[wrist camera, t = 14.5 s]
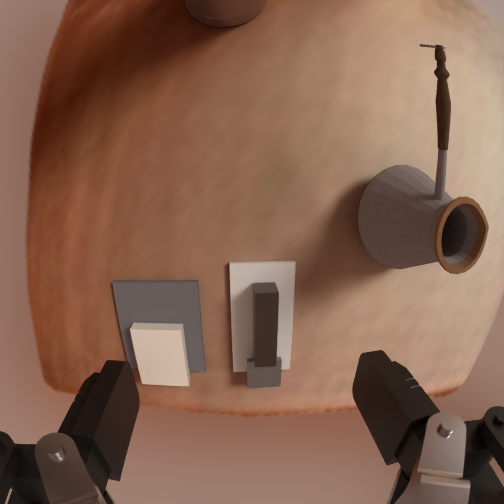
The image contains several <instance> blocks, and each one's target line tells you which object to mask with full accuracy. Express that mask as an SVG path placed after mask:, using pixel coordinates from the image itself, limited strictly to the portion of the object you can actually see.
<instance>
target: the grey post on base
mask: <svg viewBox="0 0 504 504" xmlns="http://www.w3.org/2000/svg"><path fill="white" fill-rule="evenodd" d="M278 312H279V291H278V288H277V286H276V283H275V282H265V283H253V358H247V388H260V387H277V386H280V383H281V367H282V359H281V357H277V338H278Z"/></svg>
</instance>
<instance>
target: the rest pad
mask: <svg viewBox="0 0 504 504" xmlns="http://www.w3.org/2000/svg"><path fill="white" fill-rule="evenodd" d="M295 263H296V262H295V261H258V262H230V295H231V324H232V349H233V372H247V358H253V283H265V282H275V283H276V286H277V288H278V291H279V312H278V338H277V357H281V359H282V367H281V370H284V369H290V356H291V342H292V326H293V308H294V288H295Z"/></svg>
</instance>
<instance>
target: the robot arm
mask: <svg viewBox="0 0 504 504" xmlns="http://www.w3.org/2000/svg"><path fill="white" fill-rule="evenodd" d="M265 2H266V0H185V4H186V8H187V10H188V12H189V14H190V15H191V16H192V17H193V18H195V19H196V20H198V21H199V22H201V23H204V24H206V25H211V26H215V27H230V26H236V25H240V24H243V23H246V22H248V21H250V20H252V19H253V18H255V17H256V16H257V15H258V14H259V13H260V12H261V11H262V10H263V8H264V6H265ZM352 392H353V398H354V401H355V403H356V405H357V407H358V409H359V411H360V413H361V414H362V417H363V418H364V421H365V423H366V425H367V426H368V429H369V431H370V433H371V435H372V437H373V438H374V441H375V443H376V445H377V447H378V449H379V451H380V453H381V455H382V457H383V459H384V461H385V463H386V465H390V464H393V463H396V462H399V464H400V466H401V467H400V469H399V471H398V473H397V476H396V479H395V482H394V485H393V488H392V491H391V494H390V496H389V499H388V501H387V504H504V487H503V485H502V484H501V482H500V480H499V479H498V477H497V475H496V474H495V472H494V470H493V469H492V467H491V466H490V464H489V462H490V461H491V460H492V459H493V457H494V458H495V460H496V461H497V463H498V465H499V466H500V467H501V469H502V471H503V472H504V407H500V406H495V407H491V408H490V409H488V410H487V412H486V413H485V415H484V417H483V418H482V419H480V420H473V421H463V420H462V419H461V418H460V417H459V416H458V415H456V414H453V413H450V412H440V411H439V409H438V408H437V407H436V405H435V404H434V403H433V402H432V400H431V399H430V398H429V396H428V395H427V394H426V392H425V391H424V390H423V389H422V387H421V386H419V383H418V382H417V381H416V380H415V379H413V376H412V375H411V373H410V372H409V371H408V370H407V368H405V367H404V366H402V365H401V364H399V363H398V362H396V361H393V362H392V361H391V360H390V359H389V357H388V356H387V355H386V353H385V352H384V351H382V350H378V351H372V352H366V353H362V354H361V355H360V358H359V362H358V366H357V370H356V374H355V378H354V382H353V388H352ZM139 404H140V401H139V393H138V390H137V386H136V383H135V379H134V376H133V372H132V368H131V365H130V363H129V362H128V361H116V360H107V361H106V362H105V364H104V366H103V368H102V370H101V372H100V373H95V372H94V373H93V374H92V375H91V376H90V377H88V378H87V379H86V380H85V381H84V382H83V384H82V386H81V388H80V390H79V393H78V394H77V395H76V397H75V401H73V403H72V405H71V407H70V409H69V411H68V413H67V415H66V417H65V419H64V420H63V422H62V424H61V426H60V428H59V430H58V432H57V433H51V434H48V435H45V436H43V437H42V438H41V439H40V440H39V441H38V442H37V444H15V443H14V442H13V440H12V439H11V437H10V436H9V435H8V434H6V433H4V432H1V431H0V504H5V501H6V498H7V496H8V493H9V490H10V488H11V489H12V492H11V495H10V498H9V501H8V504H115V502H114V500H113V499H112V497H111V495H110V493H109V492H108V490H107V488H106V485H107V481H108V479H111V480H116V481H120V478H121V473H122V469H123V465H124V462H125V458H126V454H127V450H128V446H129V442H130V439H131V435H132V432H133V428H134V424H135V421H136V417H137V414H138V411H139Z"/></svg>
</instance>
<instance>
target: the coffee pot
mask: <svg viewBox="0 0 504 504" xmlns="http://www.w3.org/2000/svg"><path fill="white" fill-rule="evenodd" d="M420 46H422V47H431V48H435V59H436V61H437V68H436V70H435V71H434V74H435V75H436V77H437V78H438V80H437V94H436V113H437V133H438V148H439V150H438V163H437V173H436V182H434V181H433V180H432V179H431V178H430V177H429V176H428V175H427V174H425V173H424V172H422V171H421V170H419V169H417V168H414V167H411V166H408V165H395V166H393V167H390V168H387V169H385V170H383V171H381V172H380V173H379V174H378V175H376V176H375V177H374V178H373V179H372V180H371V182H370V183H369V184H368V186H367V187H366V189H365V191H364V193H363V196H362V198H361V200H360V204H359V210H358V230H359V233H360V237H361V240H362V243H363V245H364V247H365V248H366V250H367V252H368V253H369V255H370V256H371V257H372V258H374V259H375V260H376V261H377V262H378V263H380V264H382V265H384V266H386V267H388V268H395V269H403V268H408V267H414V266H419V265H424V264H428V263H433V262H438V261H439V263H440V265H441V266H442V267H443V268H444V270H446V271H448V272H449V273H453V274H460V273H463V272H466V271H467V270H469V269H470V268H471V267H472V266H473V265H474V264H475V263H476V262H477V260H478V259H479V257H480V255H481V253H482V251H483V248H484V245H485V242H486V238H487V233H488V228H489V227H488V223H487V220H486V217H485V215H484V213H483V210H482V209H481V207H480V206H479V204H478V203H477V202H475V201H474V200H473V199H471V198H469V197H458V198H456V199H454V200H453V199H452V198H451V197H450V196H449V195H448V194H447V193H446V192H445V179H446V162H447V150H448V142H449V130H450V113H451V101H450V96H449V89H448V84H447V78H448V77H449V72H448V71H447V70H446V67H445V61H446V56H445V52H444V50H443V49H446V47H443V46H441V45H435V46H432V45H422V44H420Z"/></svg>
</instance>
